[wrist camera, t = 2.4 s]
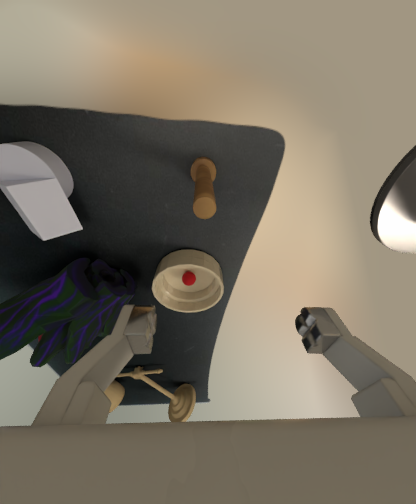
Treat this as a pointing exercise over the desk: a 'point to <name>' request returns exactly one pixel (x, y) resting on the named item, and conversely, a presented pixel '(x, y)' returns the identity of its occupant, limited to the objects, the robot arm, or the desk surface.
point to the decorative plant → (65, 311)
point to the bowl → (180, 295)
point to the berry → (188, 278)
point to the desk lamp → (180, 399)
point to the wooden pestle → (203, 187)
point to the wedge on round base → (38, 188)
